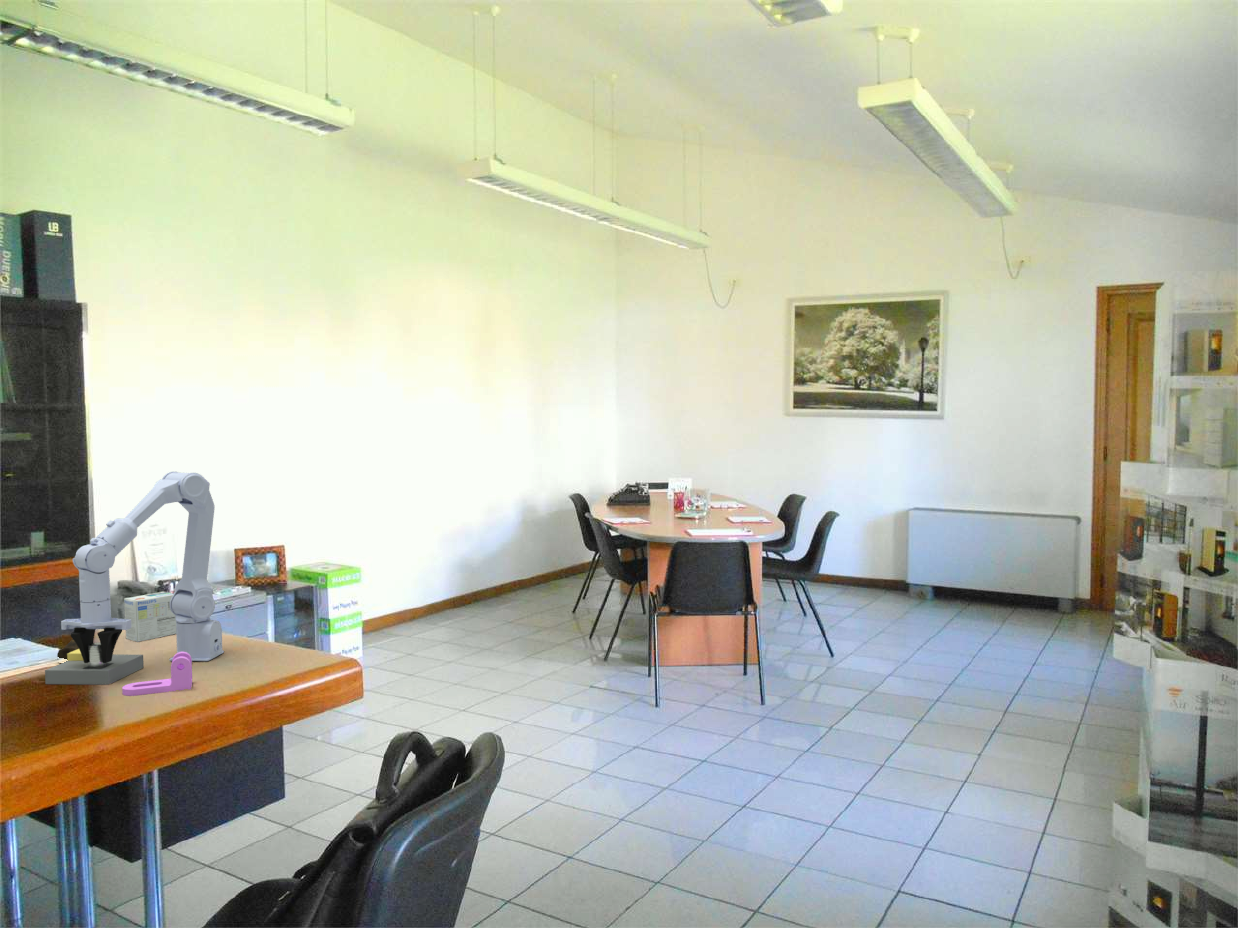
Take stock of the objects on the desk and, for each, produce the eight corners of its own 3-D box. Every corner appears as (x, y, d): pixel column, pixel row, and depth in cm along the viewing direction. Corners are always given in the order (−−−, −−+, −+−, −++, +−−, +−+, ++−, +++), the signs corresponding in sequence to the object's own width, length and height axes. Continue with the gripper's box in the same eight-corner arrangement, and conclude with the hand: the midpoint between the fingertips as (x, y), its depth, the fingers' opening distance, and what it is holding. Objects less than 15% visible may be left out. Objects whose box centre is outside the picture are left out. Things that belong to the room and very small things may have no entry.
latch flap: (111, 655, 206) (111, 648, 205) (100, 660, 202) (100, 653, 201) (79, 655, 206) (78, 648, 206) (67, 660, 202) (67, 653, 202)
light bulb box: (165, 630, 243) (163, 590, 242) (178, 633, 239) (177, 593, 238) (124, 638, 234) (122, 597, 234) (137, 642, 230) (135, 600, 230)
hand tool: (76, 663, 212) (76, 644, 211) (57, 665, 211) (56, 645, 210) (97, 644, 230) (96, 626, 230) (79, 645, 229) (79, 627, 228)
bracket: (192, 682, 195) (191, 650, 195) (191, 689, 190) (190, 656, 190) (123, 690, 190) (122, 657, 190) (121, 697, 185) (119, 664, 185)
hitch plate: (143, 667, 207) (143, 654, 207) (108, 684, 194) (108, 670, 194) (84, 667, 208) (83, 654, 207) (45, 683, 195) (44, 670, 194)
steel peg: (109, 677, 199) (107, 642, 198) (101, 682, 196) (98, 646, 195) (96, 677, 199) (93, 642, 199) (87, 682, 196) (85, 646, 196)
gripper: (50, 603, 193) (53, 666, 194) (116, 603, 192) (119, 667, 193) (72, 597, 200) (74, 657, 201) (136, 597, 199) (138, 658, 200)
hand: (97, 661), depth 197 cm, fingers open, 4 cm apart
